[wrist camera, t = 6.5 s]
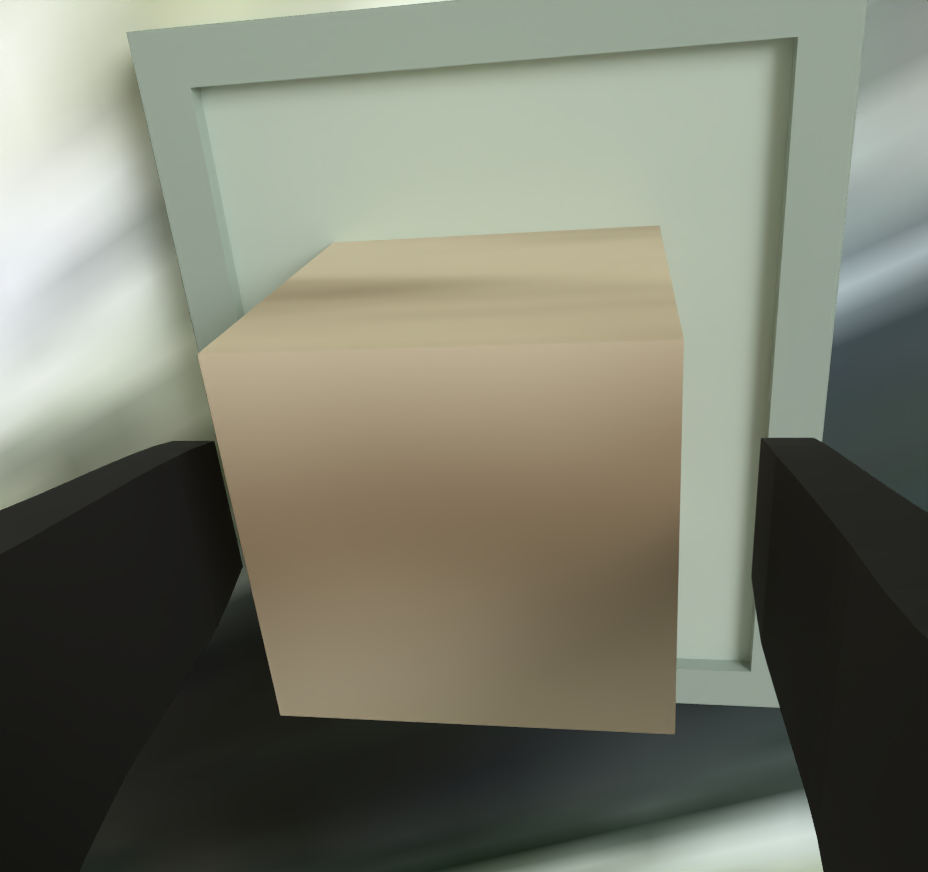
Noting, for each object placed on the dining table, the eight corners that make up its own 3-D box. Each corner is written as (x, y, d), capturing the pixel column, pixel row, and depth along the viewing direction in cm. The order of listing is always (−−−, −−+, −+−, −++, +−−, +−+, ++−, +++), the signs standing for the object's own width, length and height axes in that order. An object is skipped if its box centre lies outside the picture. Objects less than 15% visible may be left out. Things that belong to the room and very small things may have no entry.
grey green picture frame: (783, 667, 17) (794, 708, 16) (291, 649, 18) (273, 684, 18) (849, -36, 12) (872, -40, 11) (162, 31, 13) (126, 31, 12)
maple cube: (656, 518, 15) (674, 733, 10) (374, 516, 16) (280, 715, 11) (659, 225, 13) (683, 339, 8) (332, 242, 14) (197, 353, 9)
